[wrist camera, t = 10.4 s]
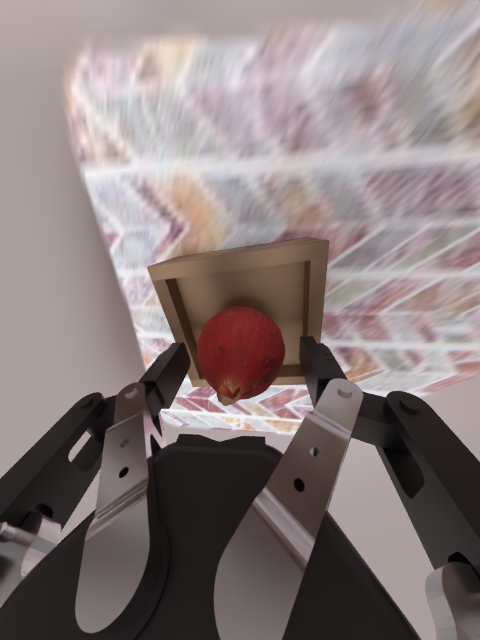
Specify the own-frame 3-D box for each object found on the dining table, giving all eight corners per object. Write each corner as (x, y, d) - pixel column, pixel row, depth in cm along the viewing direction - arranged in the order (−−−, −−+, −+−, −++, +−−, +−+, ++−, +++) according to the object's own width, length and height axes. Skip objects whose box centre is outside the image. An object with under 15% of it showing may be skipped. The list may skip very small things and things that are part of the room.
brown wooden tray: (306, 237, 15) (329, 240, 10) (302, 347, 20) (316, 384, 15) (179, 256, 17) (146, 266, 12) (207, 352, 22) (192, 386, 17)
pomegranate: (285, 297, 13) (311, 361, 6) (273, 355, 16) (283, 450, 9) (213, 289, 14) (161, 341, 7) (213, 347, 16) (174, 431, 9)
